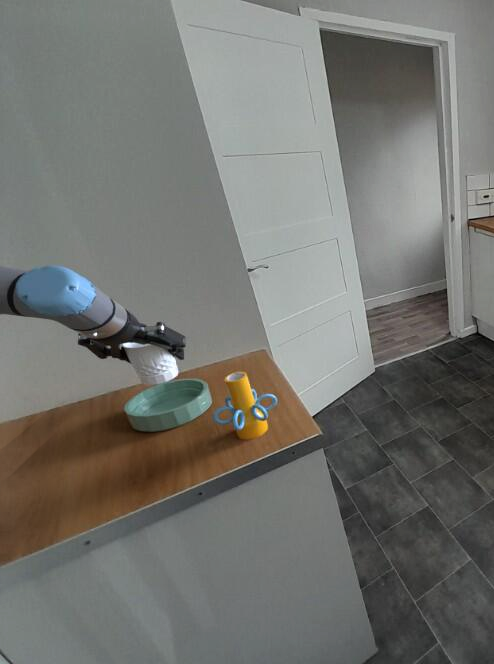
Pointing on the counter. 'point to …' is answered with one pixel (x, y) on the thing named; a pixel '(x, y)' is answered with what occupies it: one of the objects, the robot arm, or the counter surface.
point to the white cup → (151, 363)
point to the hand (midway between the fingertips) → (160, 357)
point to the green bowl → (168, 405)
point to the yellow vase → (245, 407)
